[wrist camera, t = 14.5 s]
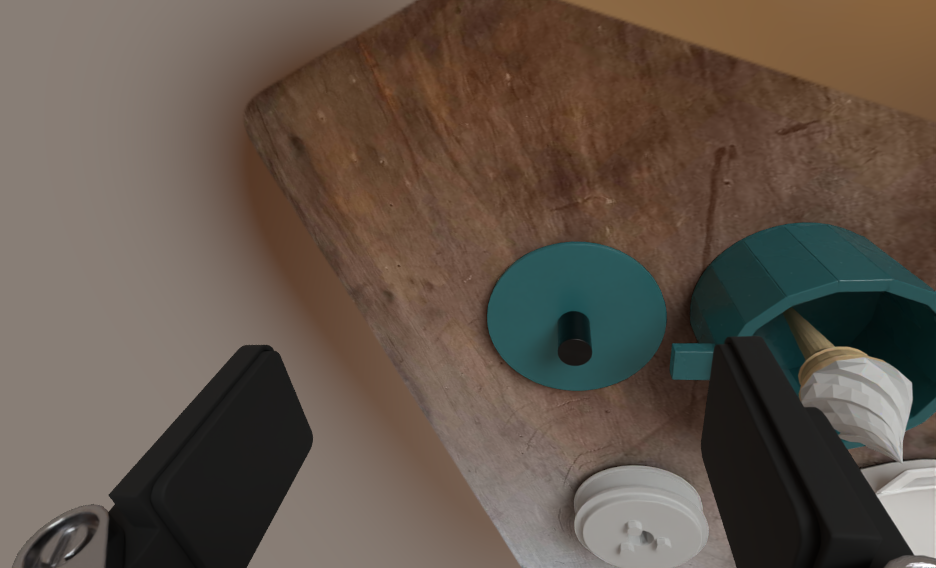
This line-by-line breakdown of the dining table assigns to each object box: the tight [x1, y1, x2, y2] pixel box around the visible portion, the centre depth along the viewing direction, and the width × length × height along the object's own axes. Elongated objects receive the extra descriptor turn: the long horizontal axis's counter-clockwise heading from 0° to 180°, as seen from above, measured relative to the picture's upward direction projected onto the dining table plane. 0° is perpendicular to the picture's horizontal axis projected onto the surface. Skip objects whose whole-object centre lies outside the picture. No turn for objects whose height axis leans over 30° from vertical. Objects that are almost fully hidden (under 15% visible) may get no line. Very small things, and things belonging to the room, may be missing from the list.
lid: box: [574, 465, 709, 568], centre depth 49 cm, size 13×13×5 cm
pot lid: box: [487, 242, 667, 391], centre depth 39 cm, size 15×15×5 cm
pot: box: [670, 223, 936, 449], centre depth 34 cm, size 14×19×8 cm
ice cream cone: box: [783, 307, 913, 464], centre depth 31 cm, size 6×6×15 cm
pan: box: [860, 459, 936, 558], centre depth 46 cm, size 24×27×4 cm
